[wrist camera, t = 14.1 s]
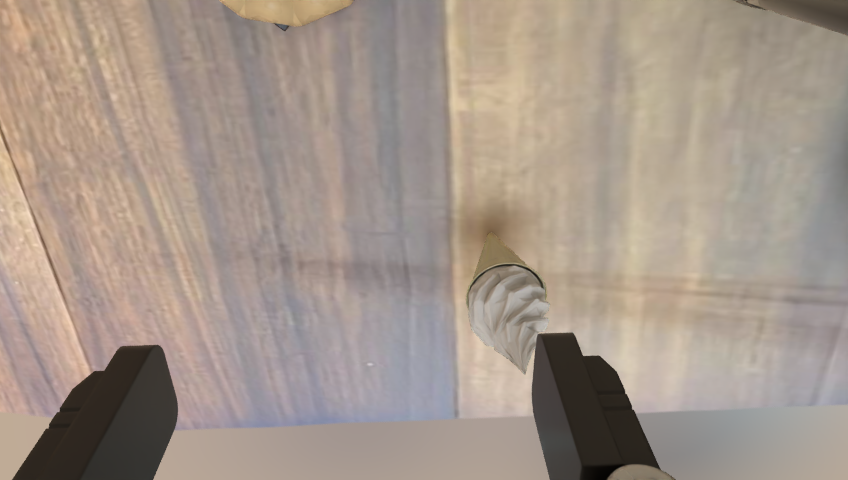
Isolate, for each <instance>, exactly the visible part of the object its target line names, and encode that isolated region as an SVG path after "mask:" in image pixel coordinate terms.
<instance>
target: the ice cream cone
mask: <svg viewBox="0 0 848 480" xmlns="http://www.w3.org/2000/svg"><path fill="white" fill-rule="evenodd" d="M546 298H547V289H546V285H545V282H544V280H543V278H542V277H541V276H540V275H539V273H537V272H536V271H535V270H534V269H532V268H530V267H529V266H527V265H526V264H525V263H524V262H523V261H522V260H521V259H520V258H519V257H518V256H517V255H516V254H515V253H514V252H513V251H512V250H510V249H509V248H508V247H507V246H506V245H505V244H504V243H503V242H502V241H501V240H500V239H499V238H498V237H497V236H496V235H494V234H493V233H489V234H488V235H487V238H486V241H485V244H484V247H483V250H482V253H481V256H480V259H479V262H478V265H477V268H476V271H475V274H474V277H473V280H472V282H471V283H470V285H469V287H468V290H467V294H466V304H467V308H468V316H469V321H470V325H471V330H472V331H473V332H474V333H475V334H476V335H477V336H478V337H479V338H480V339H481V340H482V342H483V343H484V344H485V345H486V346H491V347H494V350H495V351H497V352H498V353H500V354H502V355H503V356H505V357H506V358H507V359H509V360H510V361H511V362H512V363H513V364H515V365H516V366H517V367H518V368H519V369H520V370H521V372H522V373H523V374H525V373H526V369H527V365H528V363H529V360H530V357H531V355H532V352H533V350H534V349H535V348H536V339H537V335H538V332H543V331H545V330H546V328H547V325H548V322H549V320H548V318H544V317H543V316H544V315H545V314H546V313H547V311H548V310H549V306H550V303H548V302H546Z"/></svg>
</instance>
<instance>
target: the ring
mask: <svg viewBox="0 0 848 480" xmlns="http://www.w3.org/2000/svg"><path fill="white" fill-rule="evenodd" d="M219 1H220V2H222V3H223V4H224V5H226V6H227V7H228V8H230V9H231V10H232V11H234V12H235V13H236V14H238V15H239V16H241V17H243V18H245V19H251V20H257V21H264V22H270V23H277V24H283V25H290V26H303V25H305V24H308V23H310V22H313V21H315V20H317V19H320V18H322V17H324V16H327V15H329V14H332V13H334V12H336V11H339V10H341V9H343V8H346V7H348V6H349V5H350V4H352V2H353V1H354V0H219Z"/></svg>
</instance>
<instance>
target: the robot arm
mask: <svg viewBox="0 0 848 480" xmlns="http://www.w3.org/2000/svg"><path fill="white" fill-rule="evenodd" d="M735 1H737V2H739V3H741V4H744V5H747V6H750V7H754V8H759V9H764V10H769V11H772V12H775V13H778V14H781V15H785V16H788V17H791V18H794V19H797V20H800V21H804V22H807V23H810V24H813V25H816V26H820V27H823V28H826V29H829V30H832V31H836V32H839V33H842V34H845V35H848V0H735ZM532 405H533V413H534V418H535V422H536V426H537V430H538V434H539V438H540V442H541V446H542V450H543V454H544V458H545V462H546V466H547V469H548V474H549V478H550V480H676V479H674V478H673V477H672V476H670V475H669V474H667V473H666V472H663V471H662V470H661V469H660V467H659V465H658V463H657V461H656V459H655V456H654V454H653V452H652V450H651V447H650V445H649V443H648V441H647V438H646V436H645V434H644V432H643V430H642V428H641V425H640V423H639V421H638V418H637V416H636V414H635V412H634V410H632V405H631V403H630V401H629V398H628V396H627V394H625V389H624V387H623V385H622V383H621V380H620V378H619V376H618V374H617V372H616V371H615V370H614V369H613V368H612V367H611V366H610V365H609V364H608V363H607V362H606V361H605V360H604V359H602V358H601V357H600V356H583V355H582V352H581V350H580V347H579V345H578V342H577V340H576V337H575V335H574V334H573V333H544V334H538V335H537V339H536V348H535V359H534V371H533V382H532ZM177 415H178V403H177V398H176V394H175V390H174V387H173V383H172V379H171V376H170V372H169V369H168V365H167V361H166V358H165V354H164V351H163V349H162V348H161V347H160V346H159V345H143V346H122V347H120V348H119V349H118V350H117V351H116V353H115V355H114V356H113V358H112V359H111V361H110V363H109V364H108V366H107V367H106V369H105V371H94V372H93V373H92V374H91V375H89V376H88V377H87V378H86V379H84V380H83V381H82V382H81V383H79V384H78V385H77V386H76V387H75V388H73V389H72V391H71V392H70V394H69V395H68V397H67V398H66V400H65V401H64V403H63V404H62V406H61V407H60V412H57V413H56V415H55V416H54V418H53V419H52V421H51V423H50V424H49V429H46V430H45V431H44V433H43V434H42V436H41V438H40V439H39V440H38V442H37V443H36V445H35V447H34V448H33V450H32V451H31V452H30V454H29V455H28V457H27V458H26V460H25V461H24V463H23V464H22V466H21V467H20V469H19V470H18V472H17V473H16V475H15V476H14V478H13V479H12V480H153V478H154V476H155V474H156V471H157V469H158V467H159V464H160V462H161V460H162V457H163V455H164V453H165V450H166V448H167V446H168V443H169V441H170V439H171V436H172V434H173V432H174V429H175V426H176V422H177Z"/></svg>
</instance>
